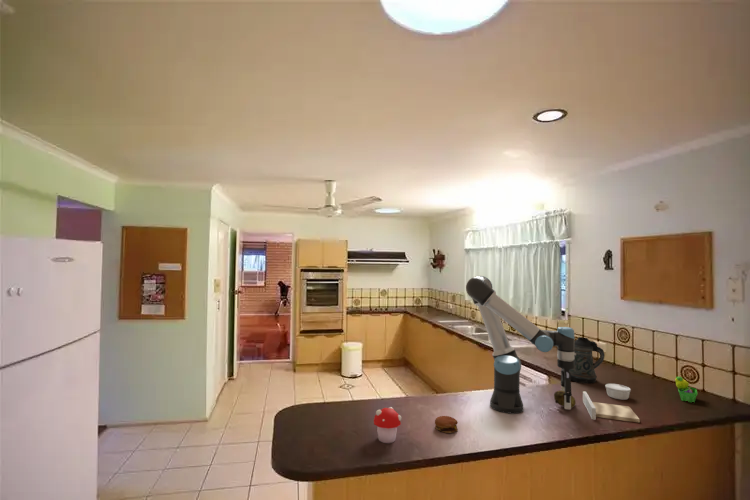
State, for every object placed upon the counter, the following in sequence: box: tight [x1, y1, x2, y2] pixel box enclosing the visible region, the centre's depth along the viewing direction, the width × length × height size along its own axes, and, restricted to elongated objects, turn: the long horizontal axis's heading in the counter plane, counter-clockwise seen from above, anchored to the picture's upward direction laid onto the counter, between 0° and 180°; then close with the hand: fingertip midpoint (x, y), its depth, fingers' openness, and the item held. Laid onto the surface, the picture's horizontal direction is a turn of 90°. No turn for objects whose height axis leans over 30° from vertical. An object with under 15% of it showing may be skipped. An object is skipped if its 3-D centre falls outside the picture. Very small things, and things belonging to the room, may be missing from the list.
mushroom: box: [373, 406, 402, 444], centre depth 149 cm, size 11×11×12 cm
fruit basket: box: [674, 376, 698, 403], centre depth 200 cm, size 11×9×11 cm
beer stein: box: [569, 336, 605, 384], centre depth 232 cm, size 16×19×25 cm
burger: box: [434, 415, 459, 434], centre depth 159 cm, size 10×9×5 cm
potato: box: [553, 390, 577, 409], centre depth 186 cm, size 8×13×8 cm, turn 105°
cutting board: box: [592, 401, 641, 423], centre depth 179 cm, size 17×16×2 cm
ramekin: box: [604, 383, 632, 401], centre depth 202 cm, size 11×11×5 cm
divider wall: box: [582, 391, 597, 421], centre depth 183 cm, size 2×24×5 cm, turn 160°
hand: (565, 404), depth 186 cm, fingers closed on potato, 12 cm apart
